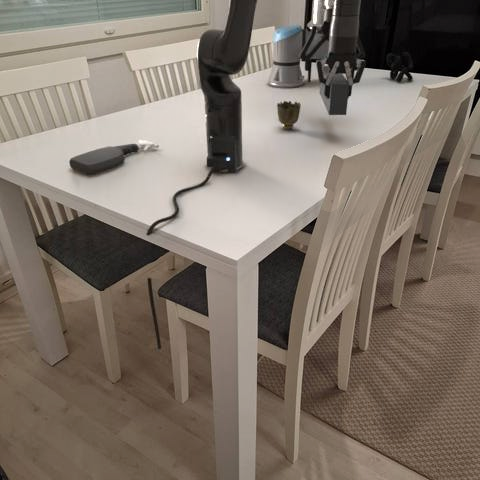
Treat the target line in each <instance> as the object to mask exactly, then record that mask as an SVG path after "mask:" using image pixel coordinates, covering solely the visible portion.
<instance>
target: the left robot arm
mask: <svg viewBox="0 0 480 480" xmlns="http://www.w3.org/2000/svg"><path fill="white" fill-rule="evenodd" d="M361 2H362V0H333V11H332V19H331V24H330V30H329V33H330V34H329V46H328V55H327V57H326V59H316V61H315V64H316V65H315V66H316V72H317V78H318V81H319V84H320V83H323V84H325V89H324V95H325V97H326V98H327V99H329V95H330V83H331V80H332V78H333V77H334V75H335V74H338V73H342V74H343V75H345V78H346V80H347V81H348V83H349V84H350V85H349V94H348V99H349V98H350V97H351V96H352V91H353V86H354V85H355V84H359V83H360V81H361V78H362V76H363V73H364V70H365V68H366V65H367V61H366V60H364V59H360V60H359V59H357V58H356V53H357V48H358V47H357V38H358V35H359V29H360V13H361V12H360V11H361ZM257 4H258V0H228V13H227V17H226V22H225V26H224V29H217V28H216V29H213V28H212V29H207V30H205V31H204V32H203V33H202V34H201V36H200V37H199V39H198V42H197V49H196V61H197V69H198V78H199V85H200V90H201V92H202V94H203V99H204V100H203V101H204V116H205V117H204V118H205V133H206V134H205V135H206V151H207V152H206V153H207V156H206V168H208V169H209V172H208V174H207V176H206V178H204V180H203V181H202V182H200V183H199V184H197V185H193V186H191V187H185V188H182V189H179V190H178V191H176V192H175V193H174V195H173V196H172V203H173V206H174V209H175V210H174V212H173V213H172V214H171V215H169V216H165V217H162V218H160V219H157V220H155V221H154V222H152V224H151V225H150V226H149V228H148V229H147V231H146V236H151V234H152V232H153V230H154V229H155V228H156V227H157V226H158V225H160V224H162V223H164V222H167V221H171V220H173V219H175V218H176V217H177V216H178V214H179V212H180V207H179V204H178V201H177V198H178V196H180V195H181V194H183V193H185V192H189V191H192V190H195V189H198V188H200V187H204V186H205V185H206V184H207V183H208V182H209V180H210V178H211V176H212V174H213V173H237V171H239V170H240V169H242V168H243V166H244V160H243V114H242V113H243V109H242V108H243V106H242V105H243V104H242V103H243V102H242V101H243V100H242V99H243V98H242V96H243V95H242V89H241V88H240V87H239V86H238V85H237V84H236V83H235V82H234V81H233V79H232V78H231V76H234V75H238V74H239V73H241V71H243V69H244V67H245V65H246V63H247V60H248V57H249V52H250V46H251V40H252V33H253V25H254V19H255V14H256V8H257ZM355 63H357V67H358V69H357V71H356V72H355V74H354V78H352V75H351V68H352V67H353V66H354V64H355ZM325 64H326V65H325ZM324 66H329V68H330V70H329V72H328V75H327V77H326V79H325V78H323V71H322V68H324ZM147 287H148V297H149V303H150V309H151V313H152V314H151V315H152V319H153V326H154V331H155V337H156V345H157V349H158V350H161V349H162V343H161V336H160V331H159V330H160V329H159V324H158V317H157V312H156V307H155V300H154V293H153V283H152V278H151V277H147Z"/></svg>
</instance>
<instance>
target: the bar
mask: <svg viewBox="0 0 480 480" xmlns="http://www.w3.org/2000/svg"><path fill="white" fill-rule="evenodd" d="M329 70H330V68H329V66H328V65H324V68H322V71H323V78H325V79H326V77H327V75H328V72H329ZM319 84H320V85H319V95H320V98H321V99H322V103H323V104H324V107H325V109H326V111H327V114H328V115H329V116H347V112H348V111H347V110H348V104H349V103H348V102H349V98H348V94H349V85H350V84H349V83H348V81H347V78H346V76H344V74H342V73H338V74H335V75H334V77H333V78H332V80H331V83H330V95H329V99H327V98H326V97H325V95H324V89H325V84H323V83H320V82H319Z"/></svg>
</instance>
